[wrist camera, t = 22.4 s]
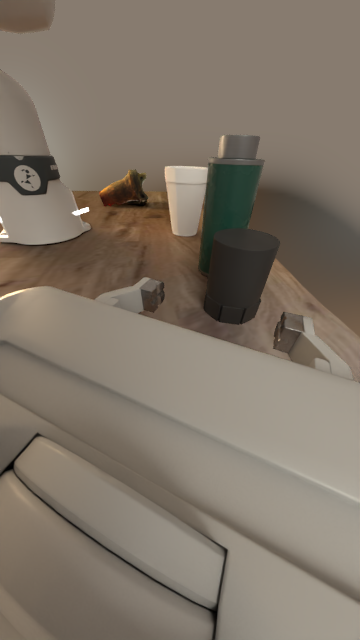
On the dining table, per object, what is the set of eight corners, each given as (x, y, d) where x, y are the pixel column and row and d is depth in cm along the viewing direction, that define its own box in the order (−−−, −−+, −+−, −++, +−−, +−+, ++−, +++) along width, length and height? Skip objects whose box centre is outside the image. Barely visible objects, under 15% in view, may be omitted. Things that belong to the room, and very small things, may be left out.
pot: (93, 172, 69) (139, 153, 68) (110, 202, 79) (150, 186, 78) (96, 198, 61) (148, 177, 60) (114, 228, 71) (159, 210, 70)
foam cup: (206, 229, 51) (213, 167, 43) (198, 240, 45) (204, 169, 36) (173, 225, 53) (173, 165, 45) (160, 235, 47) (157, 167, 38)
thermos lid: (194, 302, 26) (201, 234, 20) (228, 288, 29) (243, 225, 23) (229, 331, 22) (249, 255, 16) (264, 312, 25) (294, 242, 19)
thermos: (190, 266, 34) (199, 135, 23) (218, 258, 37) (238, 138, 26) (216, 283, 30) (242, 133, 19) (245, 272, 33) (283, 137, 22)
